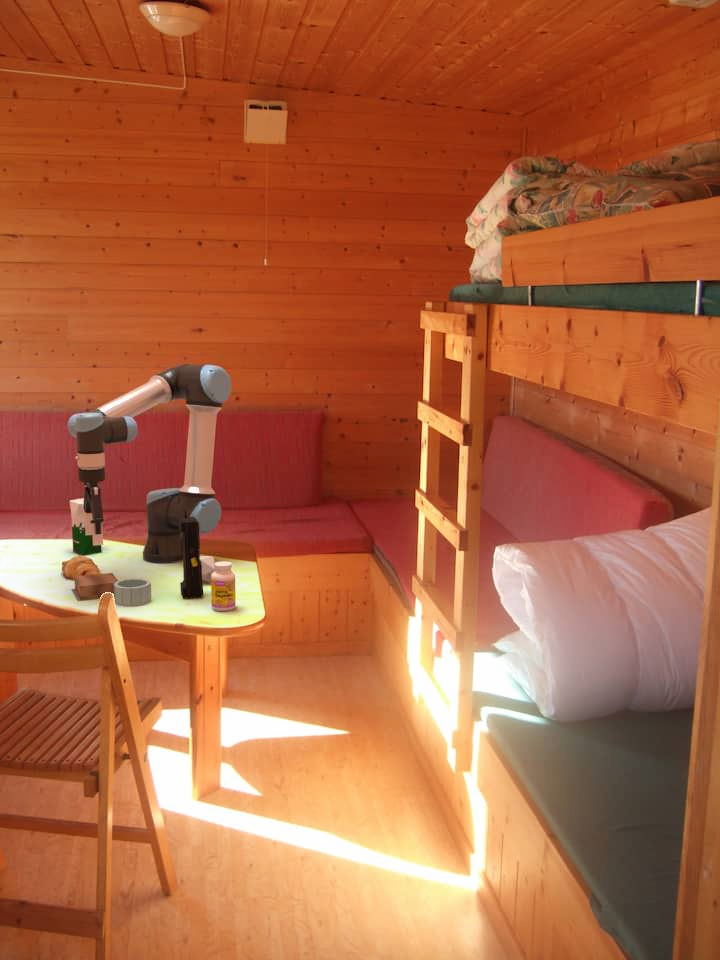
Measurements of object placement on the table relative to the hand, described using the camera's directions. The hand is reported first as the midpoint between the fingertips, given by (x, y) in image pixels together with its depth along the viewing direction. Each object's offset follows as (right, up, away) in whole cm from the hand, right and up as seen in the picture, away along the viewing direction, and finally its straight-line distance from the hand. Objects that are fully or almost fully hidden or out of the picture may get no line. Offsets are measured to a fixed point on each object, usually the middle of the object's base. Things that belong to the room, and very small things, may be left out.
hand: (94, 539), depth 283 cm
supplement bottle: (+39, -19, -10) cm, 44 cm away
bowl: (+12, -17, -5) cm, 22 cm away
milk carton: (-16, -7, +51) cm, 54 cm away
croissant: (-10, -13, +20) cm, 26 cm away
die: (+29, -14, +16) cm, 36 cm away
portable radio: (+28, -16, +1) cm, 33 cm away
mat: (0, -16, +3) cm, 16 cm away
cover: (0, -16, +3) cm, 16 cm away
